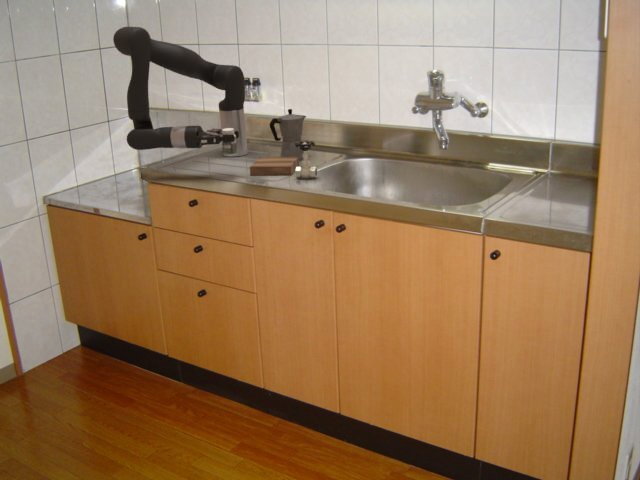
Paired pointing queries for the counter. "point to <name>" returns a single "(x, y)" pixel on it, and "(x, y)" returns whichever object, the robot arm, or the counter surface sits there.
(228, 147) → the pill bottle
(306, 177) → the valve
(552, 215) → the counter surface
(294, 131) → the coffeepot
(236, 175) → the counter surface
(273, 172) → the stand
